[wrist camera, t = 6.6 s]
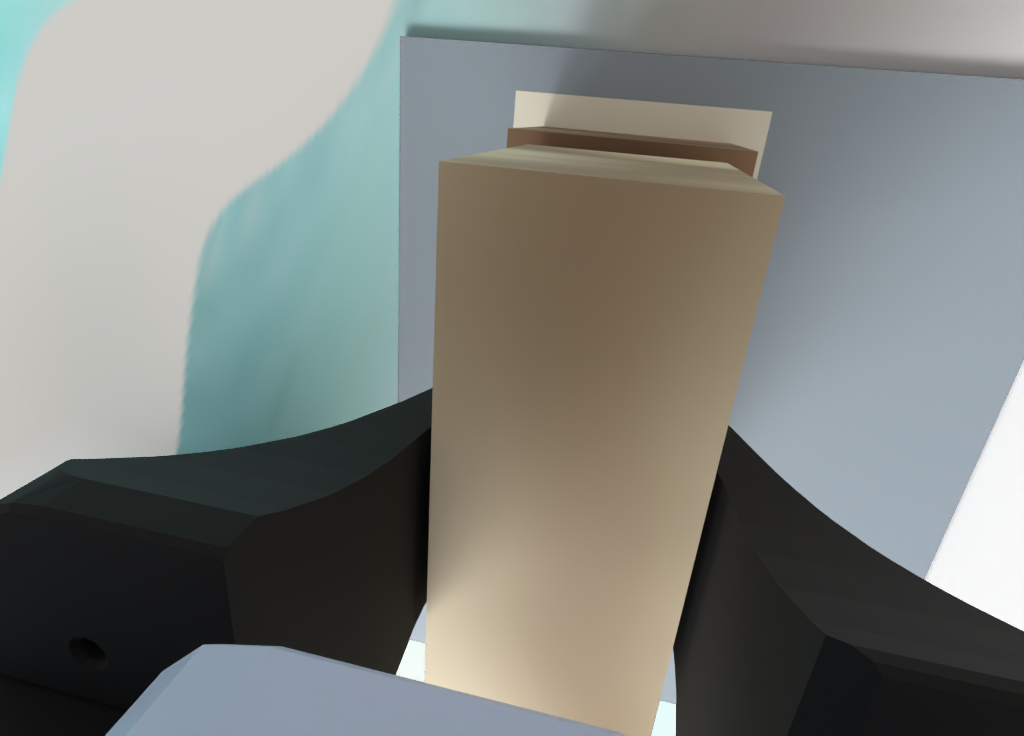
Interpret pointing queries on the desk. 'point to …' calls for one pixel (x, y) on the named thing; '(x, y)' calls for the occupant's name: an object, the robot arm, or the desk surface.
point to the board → (791, 252)
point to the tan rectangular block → (580, 415)
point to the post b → (635, 145)
